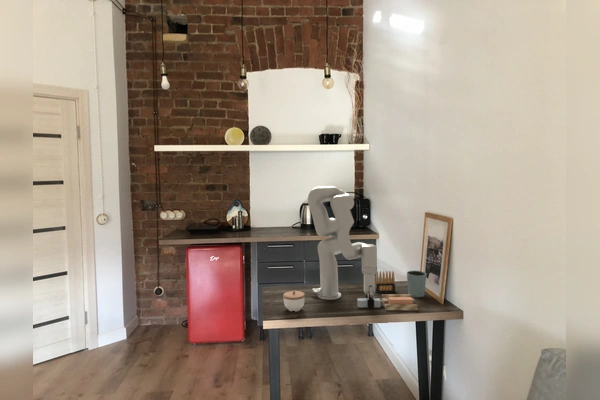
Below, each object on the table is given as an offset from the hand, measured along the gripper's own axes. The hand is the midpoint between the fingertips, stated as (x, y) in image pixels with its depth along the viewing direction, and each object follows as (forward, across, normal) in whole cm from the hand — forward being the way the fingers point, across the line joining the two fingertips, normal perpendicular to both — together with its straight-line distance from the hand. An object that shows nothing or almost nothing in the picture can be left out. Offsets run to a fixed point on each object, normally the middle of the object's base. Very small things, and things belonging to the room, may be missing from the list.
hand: (370, 304), depth 188 cm
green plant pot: (+1, -18, +26) cm, 32 cm away
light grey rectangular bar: (+1, 0, -1) cm, 1 cm away
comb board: (+1, -2, +14) cm, 15 cm away
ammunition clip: (+1, -23, +10) cm, 25 cm away
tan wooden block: (0, +2, +15) cm, 15 cm away
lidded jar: (+1, +5, -38) cm, 38 cm away
